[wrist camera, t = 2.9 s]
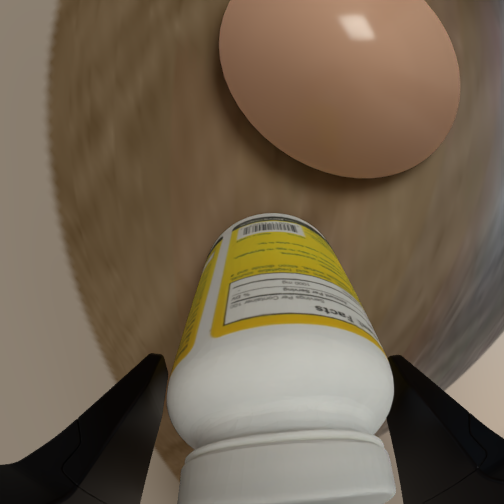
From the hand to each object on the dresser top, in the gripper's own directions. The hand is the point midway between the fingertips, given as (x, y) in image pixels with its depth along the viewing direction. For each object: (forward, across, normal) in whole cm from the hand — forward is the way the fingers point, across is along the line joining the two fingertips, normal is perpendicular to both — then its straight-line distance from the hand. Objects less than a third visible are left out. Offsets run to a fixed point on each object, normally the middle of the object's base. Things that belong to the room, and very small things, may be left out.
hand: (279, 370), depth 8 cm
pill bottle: (+6, 0, 0) cm, 6 cm away
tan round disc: (+6, -3, -10) cm, 12 cm away
